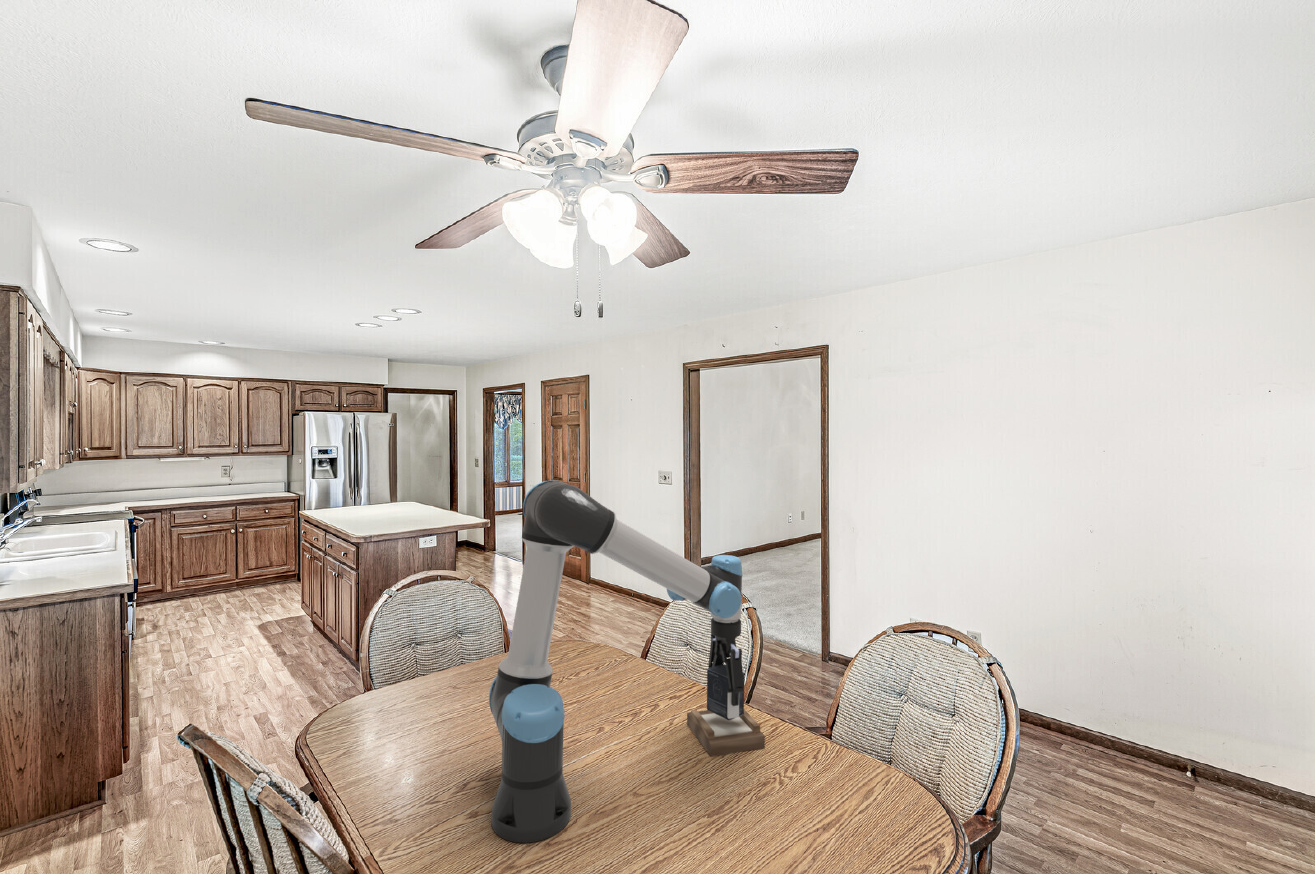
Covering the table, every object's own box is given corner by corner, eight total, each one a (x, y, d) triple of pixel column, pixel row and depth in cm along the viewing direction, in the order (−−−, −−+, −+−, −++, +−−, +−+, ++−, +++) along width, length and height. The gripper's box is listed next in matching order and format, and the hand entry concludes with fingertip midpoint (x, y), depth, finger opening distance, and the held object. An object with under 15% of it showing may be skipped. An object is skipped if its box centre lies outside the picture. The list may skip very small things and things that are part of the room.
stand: (764, 747, 141) (764, 729, 141) (710, 756, 137) (710, 736, 137) (736, 717, 156) (736, 700, 156) (687, 724, 152) (687, 706, 152)
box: (744, 714, 146) (745, 672, 146) (728, 721, 142) (729, 677, 142) (721, 703, 152) (722, 662, 152) (705, 709, 148) (706, 667, 148)
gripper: (759, 630, 137) (758, 726, 137) (722, 605, 158) (721, 688, 158) (730, 633, 135) (729, 731, 135) (696, 607, 156) (695, 691, 156)
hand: (724, 708), depth 147 cm, fingers closed on box, 9 cm apart
